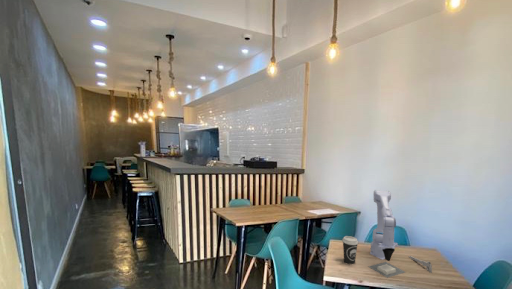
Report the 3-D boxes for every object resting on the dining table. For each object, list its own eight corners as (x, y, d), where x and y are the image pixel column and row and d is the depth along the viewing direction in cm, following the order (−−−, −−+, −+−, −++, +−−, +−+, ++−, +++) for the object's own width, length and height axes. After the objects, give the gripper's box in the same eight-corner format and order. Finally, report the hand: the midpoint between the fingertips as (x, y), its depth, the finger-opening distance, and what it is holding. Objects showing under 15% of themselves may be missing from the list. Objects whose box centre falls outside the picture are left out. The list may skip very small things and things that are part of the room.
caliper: (431, 273, 143) (432, 263, 143) (430, 273, 143) (430, 263, 143) (409, 257, 163) (410, 248, 163) (408, 257, 163) (408, 247, 163)
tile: (386, 267, 147) (377, 269, 144) (386, 264, 147) (377, 266, 144) (395, 272, 142) (386, 275, 138) (395, 268, 142) (386, 271, 138)
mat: (368, 267, 147) (368, 266, 147) (385, 262, 154) (385, 261, 154) (387, 278, 136) (387, 277, 136) (405, 272, 142) (405, 272, 142)
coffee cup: (357, 260, 155) (358, 237, 155) (357, 267, 147) (358, 242, 147) (342, 257, 159) (342, 234, 159) (340, 263, 151) (341, 239, 151)
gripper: (386, 241, 136) (385, 265, 136) (402, 238, 142) (402, 261, 142) (375, 237, 142) (374, 259, 143) (391, 233, 148) (391, 255, 149)
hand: (387, 260), depth 143 cm, fingers closed
